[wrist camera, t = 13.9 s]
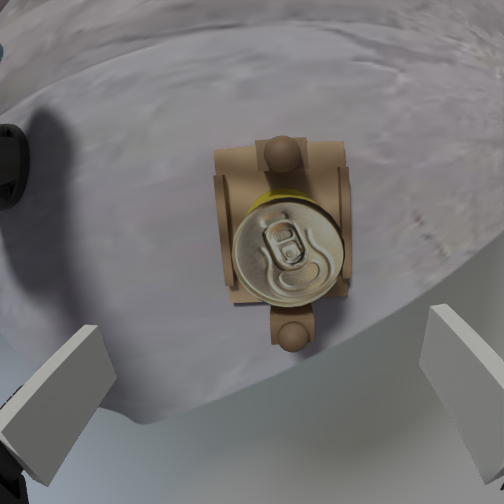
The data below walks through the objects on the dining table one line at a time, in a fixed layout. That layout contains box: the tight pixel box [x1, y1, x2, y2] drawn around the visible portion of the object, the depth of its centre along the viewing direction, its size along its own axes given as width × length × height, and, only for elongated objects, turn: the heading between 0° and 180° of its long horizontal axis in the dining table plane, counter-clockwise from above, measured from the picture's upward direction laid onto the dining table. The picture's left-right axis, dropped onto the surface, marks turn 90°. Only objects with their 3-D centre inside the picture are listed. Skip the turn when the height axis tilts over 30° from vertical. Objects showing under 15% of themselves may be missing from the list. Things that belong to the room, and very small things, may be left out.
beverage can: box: [232, 188, 345, 307], centre depth 29 cm, size 9×9×12 cm
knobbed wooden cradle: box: [213, 136, 351, 352], centre depth 29 cm, size 19×15×14 cm
